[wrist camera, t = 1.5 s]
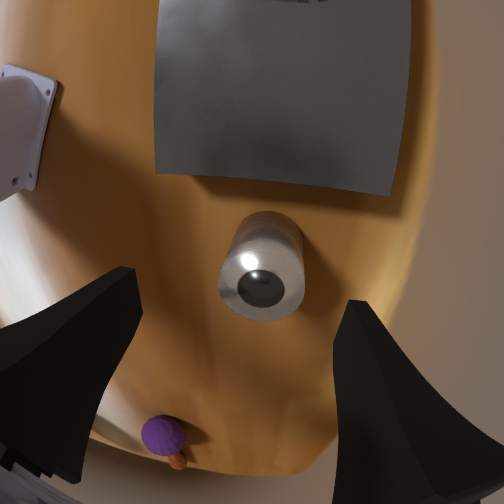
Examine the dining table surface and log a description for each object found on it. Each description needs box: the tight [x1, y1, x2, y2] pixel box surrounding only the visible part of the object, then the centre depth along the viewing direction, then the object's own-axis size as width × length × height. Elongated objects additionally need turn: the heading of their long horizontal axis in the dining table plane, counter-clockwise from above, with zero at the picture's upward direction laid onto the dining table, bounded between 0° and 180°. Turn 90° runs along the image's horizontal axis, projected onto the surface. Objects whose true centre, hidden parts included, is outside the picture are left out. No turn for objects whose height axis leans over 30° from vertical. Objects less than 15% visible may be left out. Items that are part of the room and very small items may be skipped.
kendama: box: [141, 416, 187, 470], centre depth 36 cm, size 6×6×20 cm
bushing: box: [218, 211, 305, 322], centre depth 17 cm, size 4×4×5 cm
